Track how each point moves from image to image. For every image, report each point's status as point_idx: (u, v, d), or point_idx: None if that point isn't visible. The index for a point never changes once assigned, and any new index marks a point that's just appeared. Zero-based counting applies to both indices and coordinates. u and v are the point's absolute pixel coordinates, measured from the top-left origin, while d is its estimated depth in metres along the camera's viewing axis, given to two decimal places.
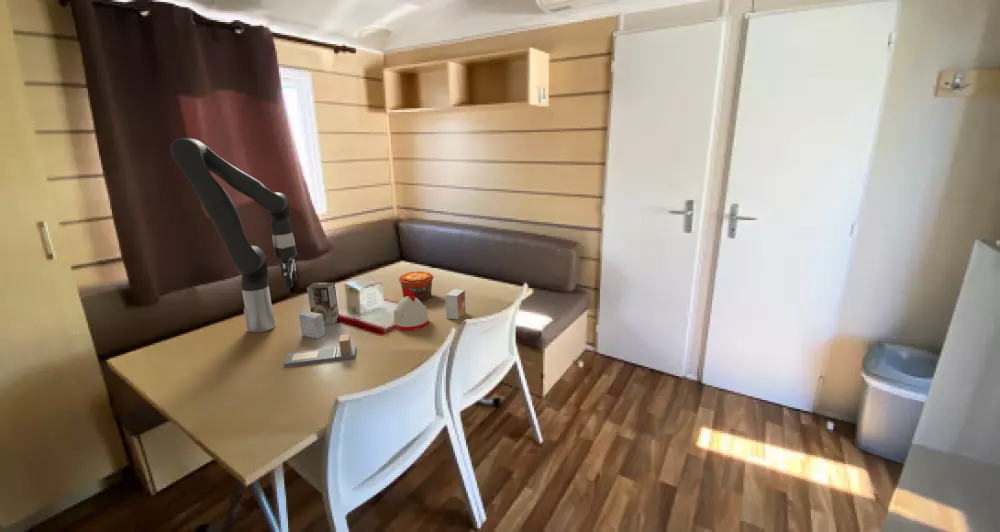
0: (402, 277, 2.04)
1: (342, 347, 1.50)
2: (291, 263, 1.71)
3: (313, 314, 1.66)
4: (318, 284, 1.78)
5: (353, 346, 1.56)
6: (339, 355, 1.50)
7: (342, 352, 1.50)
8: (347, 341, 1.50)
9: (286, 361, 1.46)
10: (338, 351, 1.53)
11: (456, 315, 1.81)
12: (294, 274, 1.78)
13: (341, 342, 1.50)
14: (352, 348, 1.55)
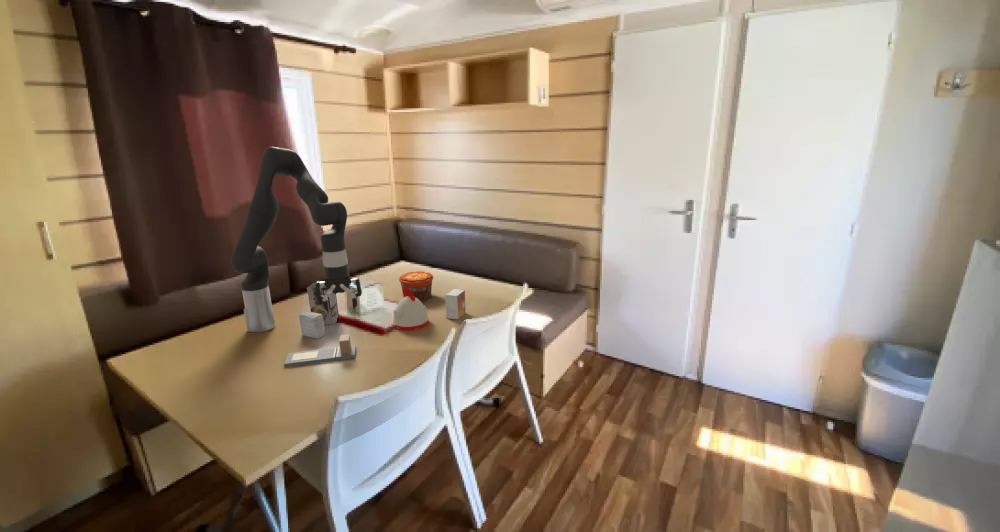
0: (402, 277, 2.04)
1: (342, 347, 1.50)
2: None
3: (313, 314, 1.66)
4: None
5: (353, 346, 1.56)
6: (339, 355, 1.50)
7: (342, 352, 1.50)
8: (347, 341, 1.50)
9: (286, 361, 1.46)
10: (338, 351, 1.53)
11: (456, 315, 1.81)
12: None
13: (341, 342, 1.50)
14: (352, 348, 1.55)
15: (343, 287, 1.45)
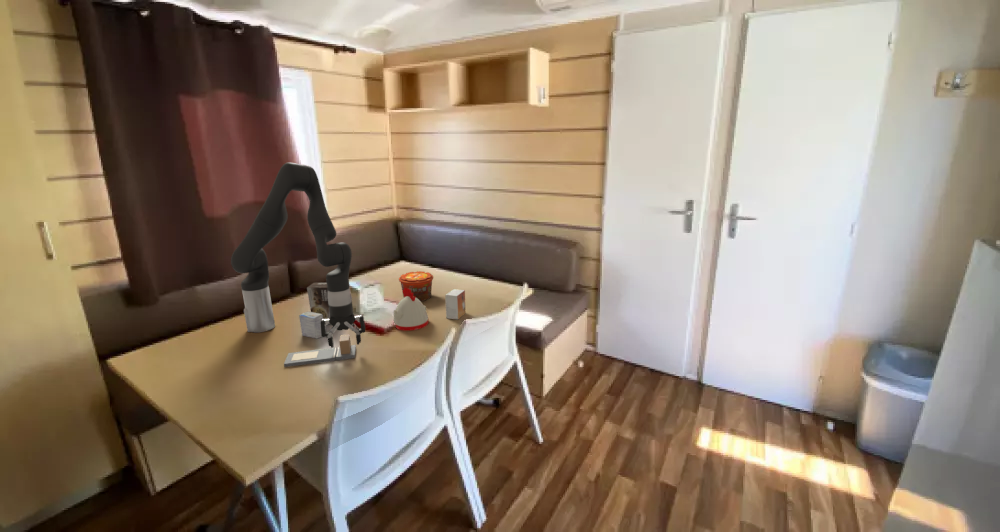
0: (402, 277, 2.04)
1: (342, 347, 1.50)
2: None
3: (313, 314, 1.66)
4: (318, 284, 1.78)
5: (353, 346, 1.56)
6: (339, 355, 1.50)
7: (342, 352, 1.50)
8: (347, 341, 1.50)
9: (286, 361, 1.46)
10: (338, 351, 1.53)
11: (456, 315, 1.81)
12: (332, 338, 1.52)
13: (341, 342, 1.50)
14: (352, 348, 1.55)
15: (347, 324, 1.49)
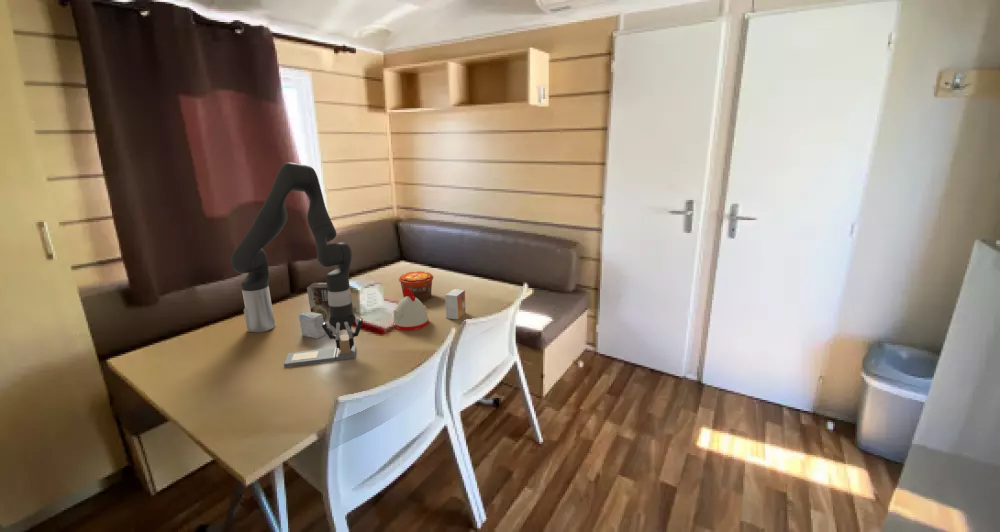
0: (402, 277, 2.04)
1: (342, 347, 1.50)
2: None
3: (313, 315, 1.66)
4: (318, 284, 1.78)
5: (353, 346, 1.56)
6: (339, 355, 1.50)
7: (342, 352, 1.50)
8: (347, 341, 1.50)
9: (286, 361, 1.46)
10: (338, 351, 1.53)
11: (456, 315, 1.81)
12: None
13: (341, 342, 1.50)
14: (352, 348, 1.55)
15: (346, 325, 1.49)
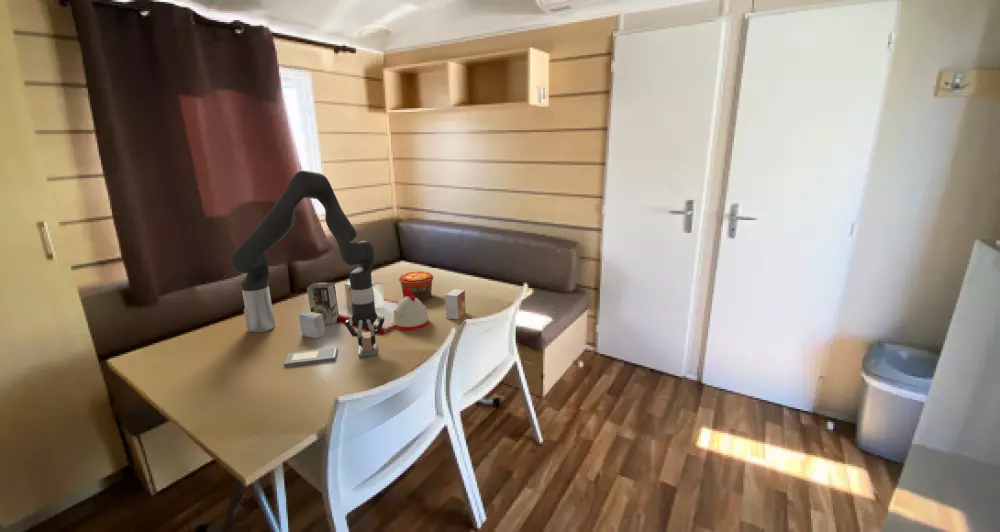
0: (402, 277, 2.04)
1: (364, 344, 1.52)
2: None
3: (313, 314, 1.66)
4: (318, 284, 1.78)
5: None
6: (361, 352, 1.52)
7: (364, 349, 1.52)
8: (369, 338, 1.52)
9: (286, 361, 1.46)
10: (360, 348, 1.54)
11: (456, 315, 1.81)
12: None
13: (363, 339, 1.51)
14: None
15: (368, 323, 1.51)
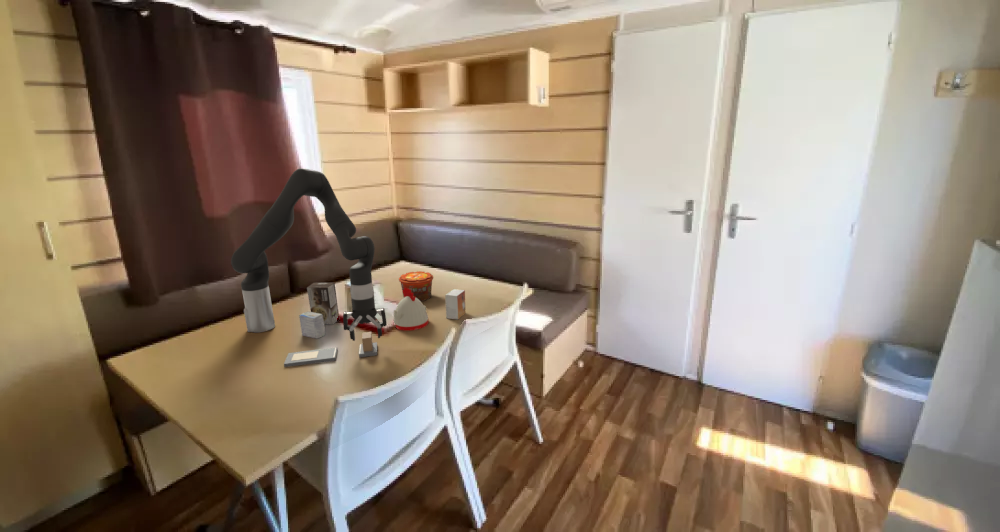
0: (402, 277, 2.04)
1: (365, 344, 1.52)
2: None
3: (313, 314, 1.66)
4: (318, 284, 1.78)
5: (375, 343, 1.58)
6: (362, 352, 1.52)
7: (364, 349, 1.52)
8: (369, 338, 1.52)
9: (286, 361, 1.46)
10: (360, 348, 1.54)
11: (456, 315, 1.81)
12: None
13: (364, 339, 1.51)
14: (374, 345, 1.57)
15: (369, 318, 1.50)
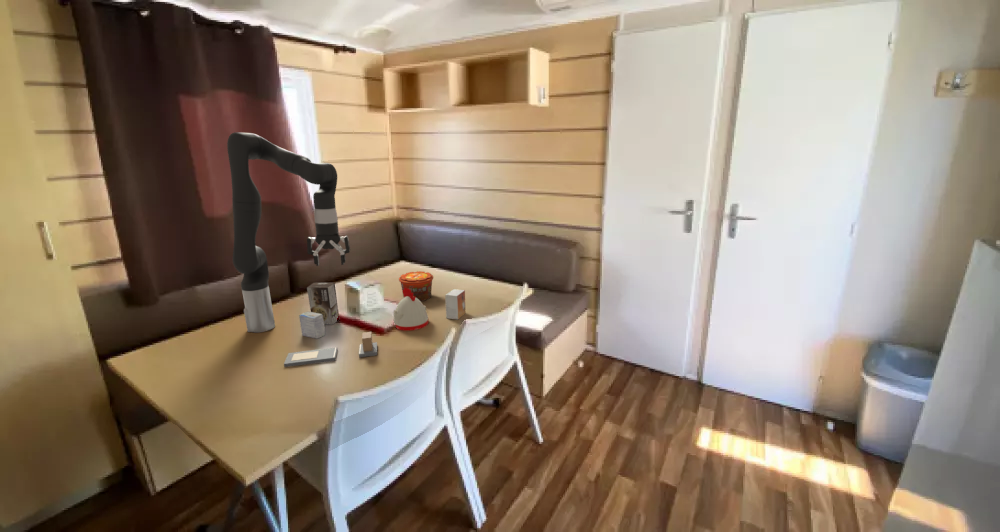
0: (402, 277, 2.04)
1: (365, 344, 1.52)
2: None
3: (313, 314, 1.66)
4: (318, 284, 1.78)
5: (375, 343, 1.58)
6: (362, 352, 1.52)
7: (364, 349, 1.52)
8: (369, 338, 1.52)
9: (286, 361, 1.46)
10: (360, 348, 1.54)
11: (456, 315, 1.81)
12: (318, 257, 1.59)
13: (364, 339, 1.51)
14: (374, 345, 1.57)
15: (332, 243, 1.57)
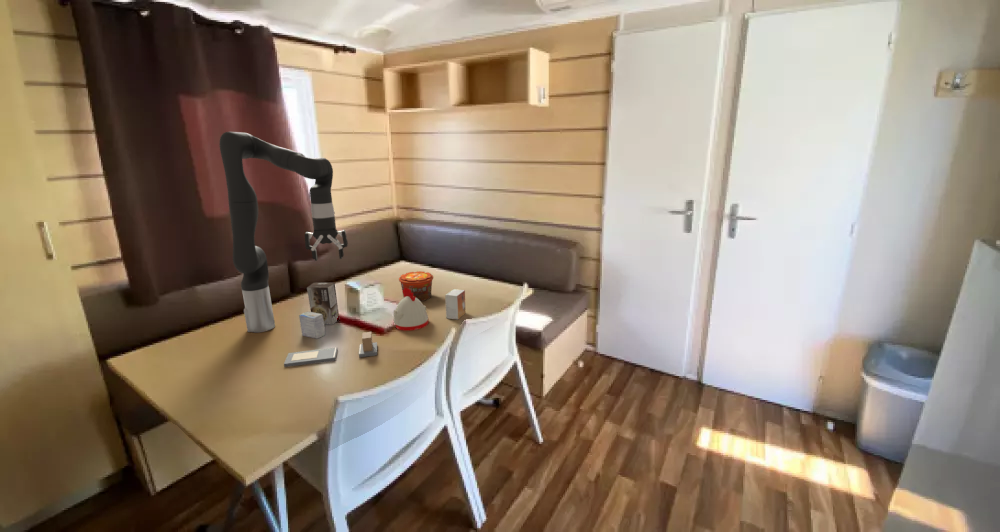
0: (402, 277, 2.04)
1: (365, 344, 1.52)
2: None
3: (313, 314, 1.66)
4: (318, 284, 1.78)
5: (375, 343, 1.58)
6: (362, 352, 1.52)
7: (364, 349, 1.52)
8: (369, 338, 1.52)
9: (286, 361, 1.46)
10: (360, 348, 1.54)
11: (456, 315, 1.81)
12: (316, 252, 1.60)
13: (364, 339, 1.51)
14: (374, 345, 1.57)
15: (330, 238, 1.57)
